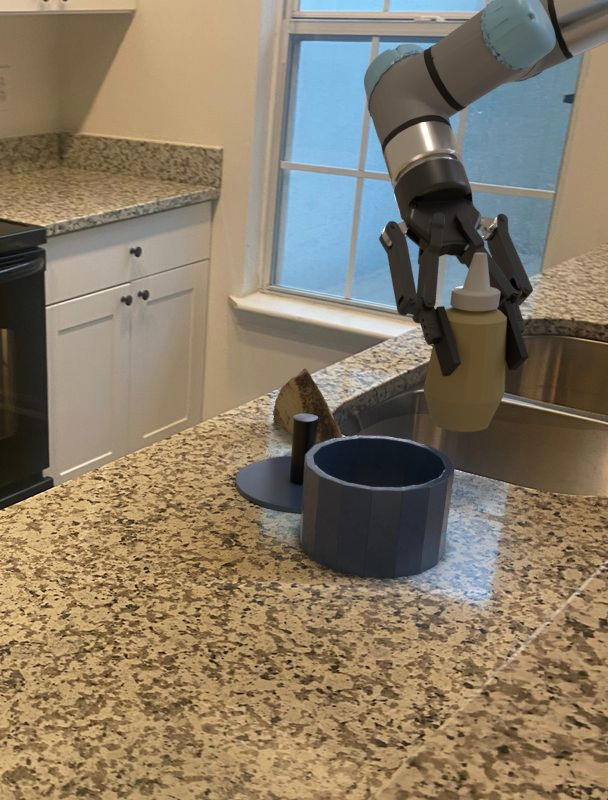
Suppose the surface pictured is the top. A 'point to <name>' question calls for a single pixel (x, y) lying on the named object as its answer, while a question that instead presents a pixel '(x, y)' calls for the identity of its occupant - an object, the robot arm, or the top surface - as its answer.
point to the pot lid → (280, 471)
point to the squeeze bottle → (471, 356)
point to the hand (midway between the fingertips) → (485, 366)
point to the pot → (375, 506)
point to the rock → (304, 406)
